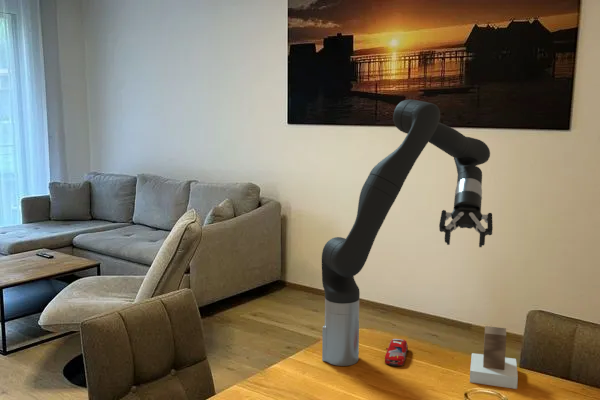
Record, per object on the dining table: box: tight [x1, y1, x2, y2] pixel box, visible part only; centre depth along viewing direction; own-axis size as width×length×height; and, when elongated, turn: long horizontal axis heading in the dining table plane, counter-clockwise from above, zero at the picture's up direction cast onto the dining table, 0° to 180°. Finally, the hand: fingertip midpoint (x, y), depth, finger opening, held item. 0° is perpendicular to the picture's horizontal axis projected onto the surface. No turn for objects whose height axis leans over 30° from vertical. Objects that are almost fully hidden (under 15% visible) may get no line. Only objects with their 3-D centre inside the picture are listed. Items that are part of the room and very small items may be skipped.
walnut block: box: [483, 325, 507, 370], centre depth 140 cm, size 5×5×9 cm
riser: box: [469, 352, 519, 390], centre depth 141 cm, size 11×11×3 cm
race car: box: [384, 338, 409, 367], centre depth 152 cm, size 13×5×4 cm, turn 162°
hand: (464, 244), depth 152 cm, fingers open, 8 cm apart
